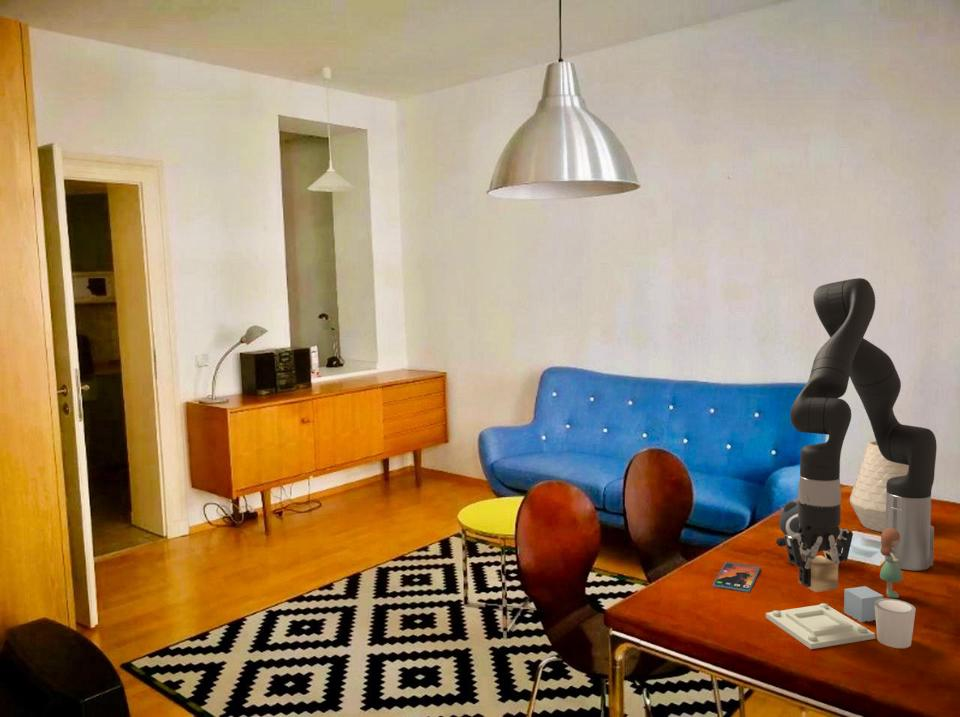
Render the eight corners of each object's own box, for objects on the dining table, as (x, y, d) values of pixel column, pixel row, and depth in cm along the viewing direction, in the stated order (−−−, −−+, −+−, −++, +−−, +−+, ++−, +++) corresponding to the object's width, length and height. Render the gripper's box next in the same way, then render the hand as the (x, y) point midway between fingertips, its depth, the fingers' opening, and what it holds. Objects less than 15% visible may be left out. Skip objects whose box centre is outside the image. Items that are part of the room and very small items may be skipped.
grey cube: (864, 609, 157) (865, 586, 156) (882, 619, 152) (883, 595, 151) (844, 612, 155) (844, 589, 155) (861, 622, 151) (861, 598, 150)
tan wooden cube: (820, 579, 151) (821, 555, 151) (837, 589, 146) (838, 564, 146) (798, 582, 150) (799, 558, 150) (815, 592, 145) (815, 567, 145)
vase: (855, 513, 218) (856, 434, 216) (925, 522, 208) (927, 440, 206) (843, 530, 204) (844, 446, 202) (917, 541, 194) (919, 453, 192)
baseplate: (825, 608, 157) (825, 600, 157) (874, 638, 144) (875, 629, 144) (765, 617, 154) (765, 609, 154) (810, 649, 141) (810, 639, 140)
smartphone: (711, 585, 170) (725, 561, 183) (712, 590, 170) (725, 566, 183) (749, 589, 166) (760, 565, 179) (750, 595, 166) (761, 570, 179)
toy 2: (909, 610, 155) (911, 539, 154) (886, 608, 156) (887, 538, 155) (894, 585, 168) (896, 519, 166) (873, 583, 169) (874, 518, 168)
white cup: (865, 634, 146) (866, 599, 145) (899, 631, 146) (900, 596, 146) (887, 651, 139) (888, 614, 138) (923, 648, 139) (924, 612, 139)
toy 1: (786, 570, 178) (787, 508, 176) (769, 554, 188) (769, 496, 187) (835, 568, 178) (836, 506, 177) (815, 553, 188) (816, 494, 187)
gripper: (838, 490, 152) (836, 572, 153) (774, 497, 148) (774, 581, 150) (865, 501, 144) (863, 586, 146) (799, 508, 141) (798, 595, 143)
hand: (818, 583), depth 148 cm, fingers closed on tan wooden cube, 5 cm apart
